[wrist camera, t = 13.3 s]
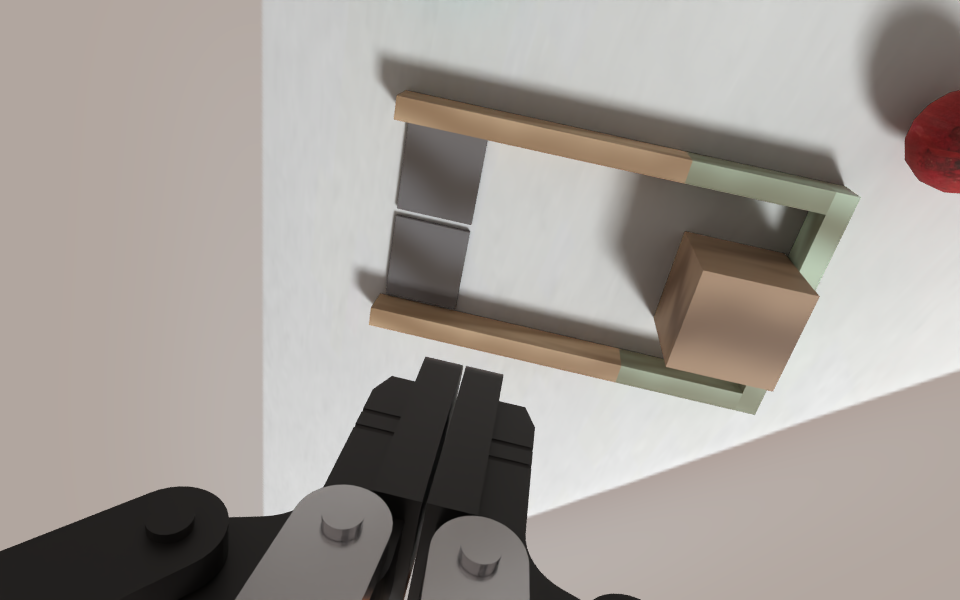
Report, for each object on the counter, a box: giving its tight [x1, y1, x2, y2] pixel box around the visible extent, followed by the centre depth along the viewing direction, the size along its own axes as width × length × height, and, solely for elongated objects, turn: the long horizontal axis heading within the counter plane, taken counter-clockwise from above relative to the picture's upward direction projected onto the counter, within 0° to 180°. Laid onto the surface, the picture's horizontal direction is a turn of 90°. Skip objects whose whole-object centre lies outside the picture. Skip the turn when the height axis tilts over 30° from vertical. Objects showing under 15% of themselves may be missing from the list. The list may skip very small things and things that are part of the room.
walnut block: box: [654, 231, 820, 391], centre depth 42 cm, size 7×7×7 cm
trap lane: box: [369, 90, 861, 415], centre depth 44 cm, size 17×30×2 cm, turn 79°
